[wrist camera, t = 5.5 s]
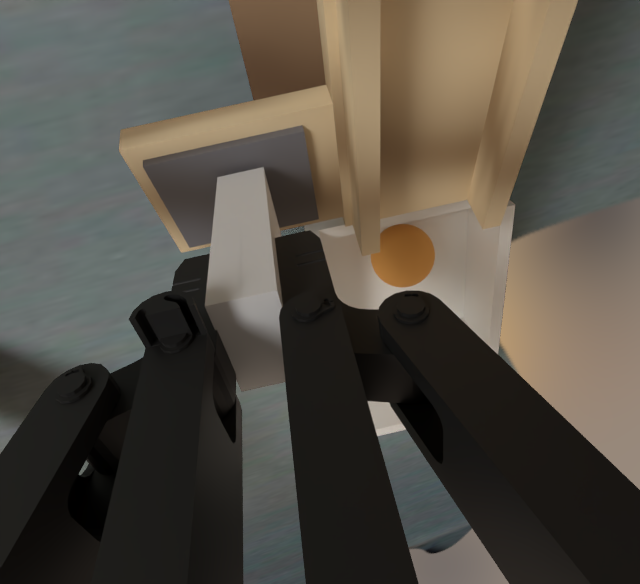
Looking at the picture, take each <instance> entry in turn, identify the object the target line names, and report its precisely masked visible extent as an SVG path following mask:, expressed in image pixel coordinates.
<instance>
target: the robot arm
mask: <svg viewBox="0 0 640 584" xmlns="http://www.w3.org/2000/svg"><path fill="white" fill-rule="evenodd" d="M129 320H130V322H131V324H132V325H133V327H134V329H135V331H136V332H137V334H138V336H139V337H140V339H141V341H142V342H143V344H144V346H145V348H146V349H145V353H144V357H143V358H141V359H140V360H138V361H136V362H134V363H132V364H130V365H128V366H126V367H124V368H121V369H119V370H117V371H115V372H113V373H111V374H110V373H109V371H108V370H107V369H106V368H105V367H104V366H102V365H101V364H94V363H89V364H84V365H79V366H77V367H75V368H72V369H70V370H68V371H66V372H65V373H63V374H62V375H60V376H59V377H58V378H56V379H55V380H54V381H53V382H52V383H51V384H50V385H49V386H48V388H47V389H46V390H45V391H44V393H43V394H42V395H41V397H40V398H39V400H38V401H37V403H36V404H35V405H34V407H33V408H32V410H31V411H30V413H29V414H28V415H27V417H26V418H25V420H24V421H23V423H22V424H21V425H20V427H19V428H18V430H17V431H16V433H15V434H14V435H13V437H12V438H11V440H10V441H9V443H8V444H7V445H6V447H5V448H4V450H3V451H2V452H1V454H0V584H243V487H242V409H241V405H240V402H239V400H238V397H237V395H236V380H237V382H238V384H239V387H240V389H241V391H247V390H251V389H256V388H260V387H265V386H269V385H274V384H278V383H283V382H286V392H287V402H288V412H289V421H290V431H291V441H292V451H293V461H294V471H295V480H296V490H297V500H298V510H299V520H300V529H301V539H302V549H303V559H304V569H305V579H306V584H418V580H417V577H416V573H415V570H414V566H413V562H412V559H411V556H410V552H409V548H408V545H407V541H406V537H405V534H404V530H403V527H402V523H401V519H400V516H399V512H398V509H397V505H396V502H395V498H394V494H393V491H392V487H391V484H390V480H389V476H388V473H387V469H386V466H385V462H384V459H383V455H382V451H381V448H380V444H379V441H378V437H377V434H376V430H375V426H374V423H373V419H372V416H371V412H370V408H369V405H368V401H374V402H389V403H390V406H391V408H392V409H393V410H394V412H395V413H396V415H397V416H398V418H399V419H400V421H401V422H402V424H403V425H404V427H405V428H406V430H407V431H408V433H409V434H410V436H411V437H412V439H413V440H414V442H415V443H416V445H417V446H418V448H419V449H420V451H421V452H422V454H423V455H424V457H425V458H426V460H427V461H428V463H429V464H430V466H431V467H432V469H433V470H434V472H435V473H436V475H437V476H438V478H439V479H440V481H441V482H442V484H443V485H444V487H445V488H446V490H447V491H448V493H449V494H450V496H451V497H452V499H453V500H454V502H455V503H456V505H457V506H458V508H459V509H460V511H461V512H462V514H463V515H464V517H465V518H466V520H467V521H468V523H469V524H470V526H471V527H472V528H473V530H474V531H475V533H476V534H477V536H478V537H479V539H480V540H481V542H482V543H483V545H484V546H485V548H486V549H487V551H488V552H489V554H490V555H491V557H492V558H493V560H494V561H495V563H496V564H497V566H498V567H499V569H500V570H501V572H502V573H503V575H504V576H505V578H506V579H507V581H508V582H509V584H640V490H639V489H638V488H637V487H636V486H635V485H634V484H633V483H632V482H631V481H630V480H629V479H628V478H627V477H626V476H625V475H623V474H622V473H621V472H620V471H619V470H618V469H617V468H616V467H615V466H614V465H613V464H612V463H611V462H610V461H609V460H608V459H607V458H606V457H605V456H604V455H603V454H602V453H600V452H599V451H598V450H597V449H596V448H595V447H594V446H593V445H592V444H591V443H590V442H589V441H588V440H587V439H586V438H584V437H583V435H581V433H579V432H578V431H577V430H576V429H575V428H574V427H573V426H572V425H571V424H570V423H569V422H568V421H567V420H566V419H565V418H564V417H563V416H562V415H561V414H560V413H559V412H557V411H556V410H555V409H554V408H553V407H552V406H551V405H550V404H549V403H548V402H547V401H546V400H545V399H544V398H543V397H542V396H541V395H539V394H538V392H537V391H535V390H534V389H533V388H532V387H531V386H530V385H529V384H528V383H527V382H526V381H525V380H524V379H523V378H522V377H521V376H520V375H519V374H518V373H517V372H516V371H515V370H513V369H512V368H511V367H510V366H509V365H508V364H507V363H506V362H505V361H504V360H503V359H502V358H501V357H500V356H499V355H498V354H497V353H496V352H495V351H494V350H493V349H491V348H490V347H489V346H488V345H487V344H486V343H485V342H484V341H483V340H482V339H481V338H480V337H479V336H478V335H477V334H476V333H475V332H474V331H473V330H472V329H471V328H469V327H468V326H467V325H466V324H465V323H464V322H463V321H462V320H461V319H460V318H459V317H458V316H457V315H456V314H455V313H454V312H453V311H452V310H451V309H450V308H449V307H447V306H446V305H445V304H444V303H443V302H442V301H441V300H440V299H439V298H437V297H435V296H434V295H432V294H431V293H427V292H423V291H403V292H399V293H395V294H393V295H391V296H390V297H388V298H386V299H385V300H384V301H383V302H382V304H381V305H380V306H379V309H358V308H354V307H351V306H348V305H347V304H345V303H343V302H342V301H341V300H340V299H339V298H338V297H337V295H336V293H335V290H334V286H333V282H332V279H331V275H330V272H329V268H328V265H327V261H326V257H325V254H324V251H323V247H322V243H321V239H320V238H319V237H318V236H317V235H316V234H314V233H313V232H312V231H310V230H309V231H304V232H300V233H295V234H291V235H286V236H281V232H280V228H279V225H278V221H277V217H276V213H275V209H274V205H273V202H272V198H271V194H270V190H269V186H268V182H267V178H266V175H265V171H264V167H261V168H257V169H252V170H248V171H243V172H239V173H234V174H230V175H225V176H220V177H217V187H216V197H215V207H214V217H213V228H212V238H211V248H210V254H207V255H202V256H198V257H193V258H189V259H185V260H184V261H183V262H182V264H181V265H180V266H179V268H178V269H177V270H176V271H175V276H174V281H173V286H172V291H169V292H164V293H161V294H158V295H155V296H152V297H151V298H149V299H147V300H146V301H144V302H142V303H141V304H140V305H139V306H138V307H137V308H136V309H135V310H134V311H133V312H132V314H131V316H130V318H129ZM86 460H87V462H88V463H89V465H88V466H87V468H86V470H85V471H84V472H83V474H82V475H78V474H79V472H80V470H81V468H82V466H83V465H84V463H85V461H86Z"/></svg>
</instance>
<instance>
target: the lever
mask: <svg viewBox="0 0 640 584" xmlns="http://www.w3.org/2000/svg"><path fill="white" fill-rule="evenodd" d="M577 2H578V0H317V9H318V19H319V28H320V37H321V46H322V55H323V64H324V73H325V82H326V85H322V86H318V87H313V88H309V89H304V90H300V91H295V92H290V93H286V94H281V95H277V96H272V97H268V98H263V99H259V100H254V101H250V102H245V103H240V104H236V105H231V106H227V107H222V108H218V109H213V110H209V111H204V112H199V113H195V114H190V115H186V116H181V117H177V118H172V119H168V120H163V121H158V122H154V123H149V124H145V125H140V126H136V127H131V128H127V129H122V130H121V132H120V144H119V152H120V153H121V155H122V157H123V158H124V160H125V162H126V163H127V165H128V166H129V168H130V170H131V171H132V173H133V175H134V176H135V178H136V179H137V181H138V183H139V184H140V186H141V188H142V189H143V191H144V192H145V194H146V196H147V197H148V199H149V201H150V202H151V204H152V205H153V207H154V209H155V210H156V212H157V214H158V215H159V217H160V218H161V220H162V222H163V223H164V225H165V227H166V228H167V230H168V231H169V233H170V235H171V236H172V238H173V240H174V241H175V243H176V244H177V246H178V248H179V249H180V251H181V253H182V252H187V251H191V250H196V249H200V248H205V247H209V246H211V238H212V228H213V217H214V207H215V197H216V187H217V177H220V176H225V175H230V174H234V173H239V172H243V171H248V170H252V169H257V168H261V167H264V171H265V175H266V178H267V182H268V186H269V190H270V194H271V198H272V202H273V205H274V209H275V213H276V217H277V221H278V225H279V228H280V231H281V230H286V229H290V228H295V227H299V226H304V225H308V224H313V223H317V222H322V221H326V220H331V219H335V218H340V217H343V220H344V224H345V227H347V226H351V225H353V228H354V231H355V234H356V238H357V241H358V244H359V247H360V251H361V254H362V256H366V255H370V254H375V253H379V252H380V219H383V218H387V217H392V216H396V215H401V214H405V213H410V212H414V211H419V210H423V209H428V208H432V207H437V206H441V205H446V204H450V203H455V202H459V201H464V200H468V202H469V204H470V206H471V208H472V210H473V212H474V214H475V216H476V218H477V220H478V222H479V224H480V226H481V227H482V229H487V228H491V227H496V226H500V225H501V222H502V219H503V217H504V214H505V211H506V208H507V205H508V202H509V199H510V196H511V193H512V190H513V188H514V185H515V182H516V179H517V176H518V173H519V170H520V167H521V164H522V161H523V159H524V156H525V153H526V150H527V147H528V144H529V141H530V138H531V135H532V133H533V130H534V127H535V124H536V121H537V118H538V115H539V112H540V109H541V106H542V104H543V101H544V98H545V95H546V92H547V89H548V86H549V83H550V80H551V77H552V75H553V72H554V69H555V66H556V63H557V60H558V57H559V54H560V51H561V49H562V46H563V43H564V40H565V37H566V34H567V31H568V28H569V25H570V22H571V20H572V17H573V14H574V11H575V8H576V5H577Z"/></svg>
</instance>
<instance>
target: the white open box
mask: <svg viewBox="0 0 640 584" xmlns="http://www.w3.org/2000/svg"><path fill="white" fill-rule="evenodd" d="M514 212H515V204H514V203H513V202H512V201H511V200H510V199H509V202H508V205H507V208H506V211H505V214H504V217H503V219H502V222H501V225H500V226H496V227H491V228H487V229H482V227H481V226H480V224H479V222H478V220H477V218H476V216H475V214H474V212H473V210H472V208H471V206H470V204H469V202H468V200H464V201H459V202H455V203H450V204H446V205H441V206H437V207H432V208H428V209H423V210H419V211H414V212H410V213H405V214H401V215H396V216H392V217H387V218H383V219H380V233H381V232H383V231H384V230H385V229H387V228H389V227H391V226H394V225H398V224H409V225H413V226H416V227H418V228H420V229H421V230H423V231H424V232H425V233H426V234H427V235H428V236H429V238H430V239H431V241H432V243H433V246H434V250H435V260H434V265H433V267H432V270H431V271H430V273H429V274H428V276H427V277H426V278H425V279H424V280H422V281H421V282H420V283H418V284H416V285H414V286H410V287H395V286H391V285H389V284H387V283H385V282H384V281H382V280H381V279H380V278H379V277H378V275H377V274H376V273H375V271H374V269H373V267H372V263H371V254H370V255H366V256H362V254H361V251H360V247H359V244H358V241H357V238H356V234H355V231H354V228H353V225H351V226H347V227H345V224H344V220H343V217H340V218H335V219H331V220H326V221H322V222H317V223H313V224H308V225H304V229H305V231H309V230H310V231H312V232H313V233H314V234H316V235H317V236H318V237H319V238H320V239H321V243H322V247H323V251H324V254H325V257H326V261H327V265H328V268H329V272H330V275H331V279H332V282H333V286H334V290H335V293H336V295H337V297H338V298H339V299H340V300H341V301H342V302H343V303H345V304H347V305H348V306H351V307H354V308H358V309H379V306H380V305H381V304H382V302H383V301H384V300H385V299H386V298H388V297H390V296H391V295H393V294H395V293H399V292H403V291H423V292H427V293H431V294H432V295H434V296H435V297H437V298H439V299H440V300H441V301H442V302H443V303H444V304H445V305H446V306H447V307H449V308H450V309H451V310H452V311H453V312H454V313H455V314H456V315H457V316H458V317H459V318H460V319H461V320H462V321H463V322H464V323H465V324H466V325H467V326H468V327H469V328H471V329H472V330H473V331H474V332H475V333H476V334H477V335H478V336H479V337H480V338H481V339H482V340H483V341H484V342H485V343H486V344H487V345H488V346H489V347H490V348H491V349H493V350H494V351H495V352H496V353H497V354H498V350H499V342H500V332H501V324H502V316H503V307H504V298H505V290H506V281H507V272H508V264H509V255H510V246H511V238H512V229H513V220H514ZM368 405H369V408H370V412H371V416H372V419H373V423H374V426H375V430H376V434H377V436H380V435H384V434H388V433H393V432H397V431H402V430H406V428H405V427H404V425H403V424H402V422H401V421H400V419H399V418H398V416H397V415H396V413H395V412H394V410H393V409H392V408H391V406H390V403H389V402H374V401H368Z"/></svg>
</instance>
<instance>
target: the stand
mask: <svg viewBox="0 0 640 584" xmlns="http://www.w3.org/2000/svg"><path fill="white" fill-rule="evenodd" d="M229 4H230V8H231V12H232V16H233V20H234V24H235V28H236V32H237V36H238V40H239V44H240V48H241V52H242V56H243V60H244V64H245V68H246V71H247V75H248V79H249V83H250V87H251V91H252V95H253V99H254V100H259V99H263V98H268V97H272V96H277V95H281V94H286V93H290V92H295V91H300V90H304V89H309V88H313V87H318V86H322V85H326V82H325V73H324V64H323V55H322V46H321V37H320V28H319V19H318V9H317V0H229Z"/></svg>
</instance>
